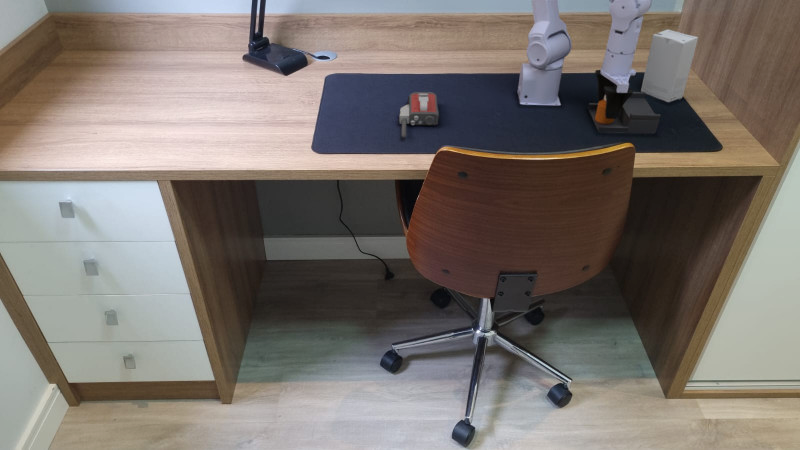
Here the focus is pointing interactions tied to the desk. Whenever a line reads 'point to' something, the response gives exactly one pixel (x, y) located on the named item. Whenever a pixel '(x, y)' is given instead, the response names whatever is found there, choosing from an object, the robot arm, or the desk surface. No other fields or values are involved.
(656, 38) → the cosmetic box
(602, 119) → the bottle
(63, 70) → the desk surface
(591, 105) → the rack
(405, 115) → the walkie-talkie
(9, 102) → the desk surface
